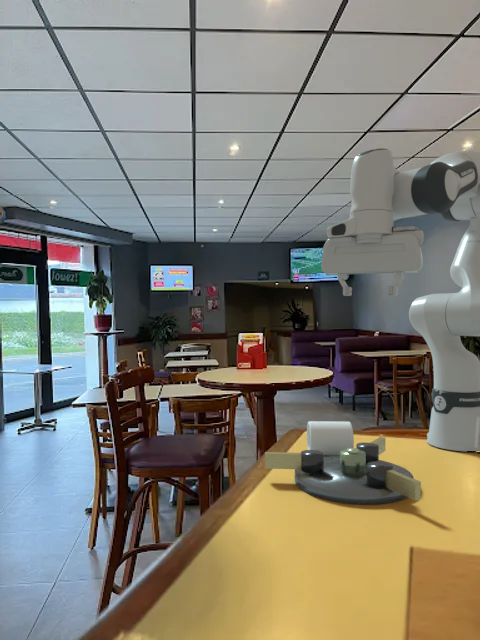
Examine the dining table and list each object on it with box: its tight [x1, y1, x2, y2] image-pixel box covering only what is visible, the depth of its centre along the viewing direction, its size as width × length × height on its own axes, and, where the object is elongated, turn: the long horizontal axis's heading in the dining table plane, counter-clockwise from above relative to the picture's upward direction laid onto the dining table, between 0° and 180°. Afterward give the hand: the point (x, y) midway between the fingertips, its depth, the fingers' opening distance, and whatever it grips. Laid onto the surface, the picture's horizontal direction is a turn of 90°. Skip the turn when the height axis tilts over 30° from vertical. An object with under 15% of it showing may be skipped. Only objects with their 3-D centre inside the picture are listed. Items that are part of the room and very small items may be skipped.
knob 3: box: [367, 461, 422, 501], centre depth 88 cm, size 12×5×3 cm, turn 25°
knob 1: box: [264, 449, 325, 474], centre depth 100 cm, size 12×5×3 cm, turn 85°
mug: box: [306, 420, 355, 457], centre depth 120 cm, size 12×10×8 cm
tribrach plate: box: [294, 447, 415, 506], centre depth 99 cm, size 23×23×7 cm
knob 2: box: [355, 436, 386, 464], centre depth 108 cm, size 12×5×3 cm, turn 145°
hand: (369, 295), depth 102 cm, fingers open, 8 cm apart
